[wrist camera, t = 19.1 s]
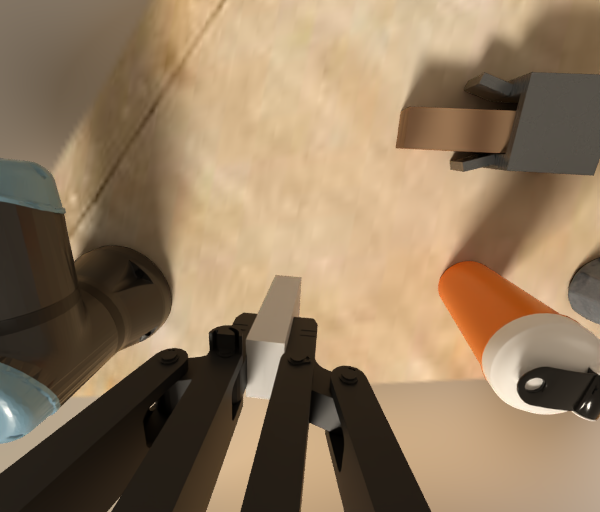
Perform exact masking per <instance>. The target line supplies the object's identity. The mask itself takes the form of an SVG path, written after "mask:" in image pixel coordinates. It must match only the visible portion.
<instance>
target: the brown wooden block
mask: <svg viewBox="0 0 600 512" xmlns="http://www.w3.org/2000/svg"><path fill="white" fill-rule="evenodd" d="M515 115H516V111H508V110H483V109H458V108H433V107H408V108H407V109H405V110H403V111H401V114H400V121H399V128H398V135H397V143H396V148H402V149H422V150H442V151H461V152H481V153H501V154H506V151H507V147H508V143H509V139H510V135H511V131H512V127H513V123H514V119H515Z"/></svg>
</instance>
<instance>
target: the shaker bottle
mask: <svg viewBox="0 0 600 512" xmlns="http://www.w3.org/2000/svg"><path fill="white" fill-rule="evenodd" d="M438 291H439V295H440V297H441V299H442V301H443V302H444V304H445V306H446V307H447V309H448V311H449V312H450V314H451V316H452V318H453V319H454V321H455V323H456V324H457V326H458V328H459V329H460V331H461V333H462V334H463V336H464V338H465V339H466V341H467V343H468V344H469V346H470V348H471V350H472V351H473V353H474V355H475V356H476V358H477V360H478V361H479V363H480V365H481V367H482V372H483V374H484V376H485V378H486V380H487V381H488V382H489V384H490V385H491V387H492V388H493V390H494V391H495V392H496V394H497V395H498V396H499V397H500V398H501V399H502V400H503V401H504V402H506V403H507V404H509V405H511V406H513V407H515V408H517V409H521V410H524V411H527V412H531V413H537V414H556V413H562V412H566V411H572V412H573V413H574V414H576V415H577V416H579V417H581V418H583V419H586V420H589V421H596V420H597V419H598V418H599V417H600V340H599V339H598V338H597V337H596V336H595V335H594V334H593V333H592V332H590V331H589V330H587V329H586V328H585V327H583V326H582V325H580V324H579V323H578V322H577V321H575V320H573V319H572V318H570V317H568V316H565V315H561V314H559V313H558V312H556V311H554V310H553V309H551V308H550V307H548V306H547V305H545V304H544V303H542V302H541V301H539V300H537V299H536V298H534V297H533V296H531V295H530V294H528V293H527V292H525V291H524V290H522V289H520V288H519V287H517V286H516V285H514V284H513V283H511V282H510V281H508V280H506V279H505V278H503V277H502V276H500V275H499V274H497V273H496V272H494V271H493V270H491V269H489V268H488V267H486V266H485V265H483V264H481V263H478V262H474V261H464V262H460V263H457V264H455V265H453V266H451V267H450V268H448V269H447V270H446V271H445V272H444V274H443V275H442V277H441V279H440V281H439V285H438Z"/></svg>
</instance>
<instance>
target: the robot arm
mask: <svg viewBox="0 0 600 512" xmlns="http://www.w3.org/2000/svg"><path fill="white" fill-rule="evenodd" d="M65 213H66V211H65V208H63V207H62V204H61V200H60V197H59V193H58V190H57V186H56V183H55V179H54V177H53V176H52V174H51V173H50V172H49V171H48V170H47V169H46V168H45V167H43V166H41V165H39V164H37V163H34V162H29V161H21V160H13V159H4V158H0V444H1V443H7V442H11V441H14V440H17V439H19V438H21V437H23V436H25V435H26V434H28V433H29V432H31V431H32V430H33V429H34V428H35V427H36V426H38V425H39V424H40V423H41V422H43V421H44V420H45V419H46V418H47V417H48V416H50V415H52V414H54V413H55V412H57V410H58V409H59V408H60V407H61V406H62V405H63V404H64V403H65V402H66V401H67V400H68V399H69V398H70V397H71V396H72V395H73V394H74V393H75V392H76V391H77V390H78V389H79V388H80V387H81V386H83V385H84V384H85V383H86V382H87V381H88V380H89V379H90V378H91V377H92V376H93V375H94V374H95V373H96V372H97V371H98V370H99V369H100V368H101V367H102V366H103V365H104V364H105V363H106V362H107V361H108V360H109V359H110V358H111V357H112V356H113V355H114V354H116V353H117V352H118V351H120V350H122V349H125V348H127V347H129V346H132V345H134V344H137V343H139V342H141V341H143V340H145V339H147V338H149V337H150V336H152V335H153V334H154V333H155V332H156V331H157V330H158V329H159V328H160V327H161V326H162V325H163V324H164V323H165V321H166V320H167V318H168V316H169V313H170V309H171V294H170V289H169V286H168V284H167V281H166V279H165V277H164V276H163V274H162V273H161V271H160V270H159V269H158V268H157V266H156V265H155V264H154V263H153V262H152V261H150V260H149V259H148V258H147V257H145V256H144V255H142V254H140V253H139V252H137V251H134V250H132V249H129V248H126V247H122V246H104V247H100V248H97V249H95V250H92V251H90V252H87V253H85V254H83V255H82V256H80V257H79V258H78V259H76V260H75V261H74V259H73V255H72V250H71V246H70V241H69V236H68V232H67V227H66V221H65V216H64V214H65ZM300 292H301V277H291V276H280V275H275V278H274V280H273V282H272V284H271V286H270V288H269V291H268V293H267V295H266V297H265V299H264V301H263V304H262V306H261V308H260V310H259V312H258V314H252V313H242V314H241V315H239V316H238V317H236V319H235V321H234V322H233V325H232V326H231V325H228V326H220V327H216V328H214V329H212V330H211V331H210V332H209V345H210V351H209V353H208V354H207V355H206V356H202V357H195V358H188V354H187V353H186V351H184V350H182V349H177V348H172V349H166V350H163V351H161V352H159V353H157V354H155V355H154V356H153V357H151V358H150V359H149V360H148V361H146V362H145V363H144V364H142V365H141V366H140V367H138V368H137V369H136V370H135V371H133V372H132V373H131V374H129V375H128V376H127V377H125V378H124V379H123V380H122V381H120V382H119V383H118V384H116V385H115V386H114V387H112V388H111V389H110V390H109V391H107V392H106V393H105V394H103V395H102V396H101V397H99V398H98V399H97V400H96V401H94V402H93V403H92V404H90V405H89V406H88V407H86V408H85V409H84V410H83V411H81V412H80V413H79V414H78V415H76V416H75V417H73V418H72V419H71V420H69V421H68V422H67V423H66V424H65V425H63V426H62V427H60V428H59V429H58V430H56V431H55V432H54V433H53V434H52V435H50V436H49V437H47V438H46V439H45V440H43V441H42V442H41V443H40V444H38V445H37V446H36V447H35V448H33V449H32V450H30V451H29V452H28V453H27V454H25V455H24V456H23V457H21V458H20V459H19V460H18V461H16V462H15V463H14V464H12V465H11V466H10V467H8V468H7V469H6V470H4V471H3V472H2V473H1V474H0V512H107V511H108V510H109V509H110V508H111V507H112V505H113V504H114V503H115V502H116V501H117V500H118V499H119V497H120V496H121V497H120V499H119V500H118V502H117V503H116V505H115V507H114V508H113V510H112V511H111V512H206V510H207V507H208V504H209V501H210V498H211V495H212V493H213V490H214V487H215V484H216V481H217V478H218V475H219V472H220V470H221V467H222V464H223V461H224V458H225V456H226V452H227V450H228V447H229V444H230V441H231V438H232V436H233V433H234V430H235V427H236V424H237V421H238V418H239V416H240V413H241V410H242V407H243V394H244V391H245V389H246V396H247V397H254V398H262V399H270V400H269V404H268V408H267V412H266V416H265V419H264V424H263V427H262V431H261V435H260V439H259V443H258V447H257V450H256V454H255V458H254V462H253V466H252V469H251V473H250V477H249V481H248V485H247V489H246V492H245V496H244V500H243V505H242V508H241V512H301V503H302V491H303V481H304V471H305V459H306V449H307V439H308V430H309V423H312V424H314V425H316V426H318V427H320V428H323V429H325V435H326V439H327V443H328V447H329V451H330V455H331V459H332V463H333V467H334V471H335V475H336V479H337V483H338V488H339V492H340V495H341V500H342V503H343V507H344V512H431V510H430V508H429V506H428V504H427V502H426V500H425V498H424V496H423V494H422V491H421V490H420V487H419V485H418V483H417V481H416V479H415V477H414V475H413V473H412V471H411V469H410V467H409V465H408V462H407V461H406V458H405V457H404V454H403V453H402V450H401V448H400V446H399V444H398V442H397V440H396V438H395V436H394V433H393V431H392V429H391V427H390V425H389V423H388V421H387V419H386V417H385V415H384V413H383V411H382V409H381V407H380V404H379V403H378V400H377V398H376V396H375V394H374V392H373V390H372V388H371V386H370V384H369V382H368V380H367V377H366V376H365V375H364V373H363V372H362V371H360V370H359V369H357V368H354V367H351V366H340V367H337V368H335V369H334V370H333V371H332V372H331V371H328V370H326V369H324V368H322V367H321V366H319V365H318V363H317V362H316V360H315V351H316V338H317V326H318V325H317V323H316V321H315V320H314V319H311V318H301V317H299V310H300ZM154 402H155V404H154ZM153 404H154V405H153ZM151 405H153V406H152V407H151V408H150V406H151Z"/></svg>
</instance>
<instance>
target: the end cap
mask: <svg viewBox="0 0 600 512" xmlns="http://www.w3.org/2000/svg"><path fill="white" fill-rule="evenodd" d="M464 91H467V92H469V93H471V94H474V95H476V96H478V97H481V98H483V99H486V100H488V101H491V102H507V103H518V107H517V111H516V115H515V119H514V123H513V127H512V131H511V135H510V139H509V143H508V147H507V151H506V154H476V155H472V156H468V157H464V158H460V159H456V160H452V161H450V168H451V170H456V171H462V172H465V171H469V170H473V169H477V168H481V167H483V168H491V169H499V170H507V171H524V172H541V173H559V174H576V175H593V176H594V173H595V170H596V168H597V165H598V162H599V159H600V75H595V74H566V73H537V72H531V73H529V74H526V75H524V76H521V77H519V78H516V79H513V80H511V81H508V82H506V81H504V80H501V79H499V78H496V77H494V76H492V75H489V74H487V73H483V74H481V75H479V76H477V77H475V78H473V79H471V80H469V81H468V83H467V85H466V87H465V89H464Z"/></svg>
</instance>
